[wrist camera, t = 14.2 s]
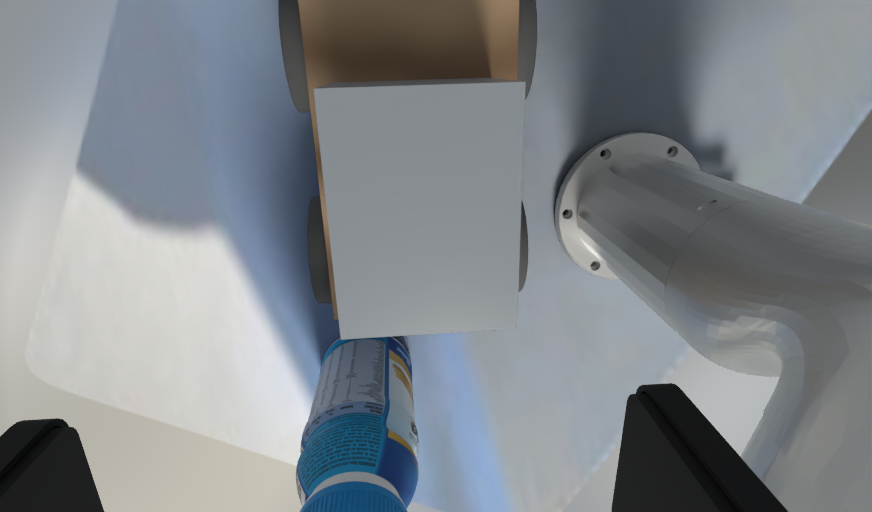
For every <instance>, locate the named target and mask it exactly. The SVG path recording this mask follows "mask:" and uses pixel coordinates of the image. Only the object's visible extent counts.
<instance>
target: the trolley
mask: <svg viewBox="0 0 872 512" xmlns="http://www.w3.org/2000/svg"><path fill="white" fill-rule="evenodd" d="M279 27H280V38H281V47H282V54H283V60H284V66H285V72H286V77H287V81H288V85H289V89H290V93H291V96H292V99H293V102H294V104H295V107H296V108H297V110H298V111H299V112H300V113H301V112H311V119H312V128H313V137H314V146H315V154H316V163H317V172H318V181H319V190H320V196H317V197H313V198H312V199H311V202H310V206H309V213H308V257H309V267H310V275H311V281H312V286H313V290H314V294H315V297H316V299H317V301H318V303H332V305H333V314H334V320H335V319H339V328H340V337H341V340H344V339H359V338H375V337H391V336H406V335H422V334H437V333H453V332H468V331H484V330H500V329H515V328H517V319H518V292H520V291H521V290H522V288H523V286H524V283H525V279H526V274H527V265H528V234H527V223H526V216H525V211H524V206H523V202H522V172H523V143H524V113H525V100H526V98H527V96H528V93H529V90H530V87H531V83H532V78H533V73H534V66H535V58H536V45H537V11H536V1H535V0H279Z"/></svg>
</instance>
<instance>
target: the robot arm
mask: <svg viewBox="0 0 872 512" xmlns="http://www.w3.org/2000/svg"><path fill="white" fill-rule="evenodd" d="M668 149H670V150H669V152H668V153H667V151H668ZM602 150H604V154H603V155H601V156H600V153H601V151H602ZM566 209H567V212H566V213H565V214H563V211H564V210H566ZM555 225H556V231H557V234H558V237H559V241H560V242H561V244H562V246H563V248H564V250H565V252H566V253H567V254H568V255H569V256H570V257H571V259H572V260H573V261H574V262H575V263H576V264H578V265H579V266H580V267H581V268H582V269H584V270H585V271H587V272H589V273H590V274H592V275H595V276H598V277H601V278H604V279H612V280H621V281H622V282H623V283H624V284H626V285H627V286H628V287H629V288H630V289H631V290H632V291H633V292H634V293H635V294H636V295H637V296H638V297H639V298H640V299H641V300H643V301H644V302H645V303H646V304H647V305H648V306H649V307H650V308H651V309H652V310H653V311H654V312H655V313H656V314H657V315H658V316H659V317H661V318H662V319H663V320H664V321H665V322H666V323H667V324H668V325H669V326H670V327H671V328H672V329H673V330H674V331H675V332H676V333H678V334H679V335H680V336H681V337H682V338H683V339H684V340H685V341H686V342H687V343H688V344H689V345H690V346H691V347H692V348H693V349H695V350H696V351H697V352H698V353H700V354H701V355H702V356H704V357H705V358H707V359H708V360H710V361H712V362H713V363H715V364H717V365H719V366H722V367H724V368H727V369H730V370H733V371H736V372H739V373H744V374H749V375H757V376H769V377H780V378H779V381H778V384H777V386H776V388H775V390H774V392H773V394H772V396H771V398H770V400H769V402H768V404H767V406H766V408H765V410H764V413H763V417H762V418H761V420H760V422H759V424H758V426H757V428H756V430H755V431H754V433H753V435H752V437H751V439H750V440H749V442H748V444H747V446H746V448H745V450H744V452H743V453H742V455H741V457H740V456H739V455H738V454H737V453H736V451H735V450H734V449H733V448H732V447H731V446H730V445H729V444H728V443H727V441H726V440H725V439H724V438H723V437H722V436H721V435H720V433H719V432H718V431H717V430H716V429H715V428H714V427H713V425H712V424H711V423H710V422H709V421H708V420H707V419H706V418H705V416H704V415H703V414H702V413H701V412H700V411H699V409H698V408H697V407H696V406H695V405H694V404H693V403H692V402H691V400H690V399H689V398H688V397H687V396H686V395H685V393H684V392H683V391H682V390H681V389H680V388H679V387H678V386H676V385H675V384H672V383H671V384H653V385H642V386H639V388H638V389H637V392H636V394H631V395H630V396H629V397H628V400H627V406H626V413H625V420H624V427H623V434H622V441H621V448H620V454H619V462H618V469H617V475H616V482H615V489H614V496H613V503H612V512H872V226H869V225H865V224H862V223H858V222H855V221H852V220H848V219H844V218H841V217H838V216H835V215H831V214H828V213H825V212H822V211H818V210H816V209H812V208H810V207H807V206H804V205H801V204H798V203H795V202H792V201H788V200H784V199H782V198H779V197H776V196H773V195H770V194H767V193H764V192H761V191H758V190H755V189H752V188H749V187H747V186H744V185H741V184H738V183H735V182H732V181H729V180H726V179H723V178H720V177H717V176H714V175H711V174H709V173H706V172H703V171H701V169H700V167H699V164H698V163H697V161H696V160H695V158H694V157H693V155H692V154H691V153H690V152H689V151H688V150H687V149H686V148H684V147H683V146H682V145H681V144H679V143H678V142H676V141H674V140H672V139H670V138H668V137H665V136H661V135H658V134H653V133H647V132H630V133H625V134H621V135H617V136H613V137H611V138H609V139H607V140H604V141H602V142H600V143H599V144H597V145H596V146H594V147H593V148H591V149H590V150H588V151H587V152H586V153H585V154H584V155H583V156H582V157H581V158H580V159H578V160H577V161H576V163H575V164H574V165H573V167H572V168H571V169H570V171H569V172H568V173H567V175H566V177H565V179H564V181H563V183H562V185H561V187H560V190H559V193H558V197H557V200H556V207H555ZM592 262H594V263H593V264H591V263H592ZM0 512H104V510H103V507H102V504H101V501H100V498H99V495H98V492H97V489H96V486H95V483H94V480H93V477H92V474H91V471H90V468H89V465H88V462H87V459H86V456H85V452H84V450H83V447H82V443H81V441H80V437H79V434H78V432H77V431H76V429H74V428H72V427H69V426H68V424H67V423H66V422H65V421H64V420H63V419H41V420H26V421H25V420H24V421H20V422H17V423H16V424H14V425H13V426H11V427H10V428H9V429H8V430H7V431H6V432H5V433H4V434H3V435H2V436H1V437H0Z"/></svg>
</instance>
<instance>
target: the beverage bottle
mask: <svg viewBox="0 0 872 512" xmlns="http://www.w3.org/2000/svg"><path fill="white" fill-rule="evenodd" d="M417 455H418V433H417V429H416V426H415V418H414V404H413V390H412V365H411V360H410V357H409V355H408V353H407V351H406V349H405V348H404V346H403V345H402V344H401V343H400V342H399V341H398V340H396V339H395V338H393V337H392V336H391V337H375V338H359V339H344V340H341V337H340V338H339V339H337V340H336V341H335V342H334V343H333V344H332V345H331V346H330V347H329V349H328V350H327V352H326V353H325V355H324V358H323V361H322V365H321V371H320V377H319V381H318V385H317V389H316V393H315V396H314V400H313V404H312V408H311V412H310V416H309V420H308V422H307V424H306V426H305V429H304V432H303V435H302V441H301V455H300V458H299V460H298V464H297V469H296V483H297V490H298V494H299V498H300V501H301V503H302V506H303V507H302V509H301V511H300V512H407V510H406V509H407V507H408V505H409V504H410V502H411V500H412V497H413V495H414V492H415V489H416V485H417V481H418V463H417Z"/></svg>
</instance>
